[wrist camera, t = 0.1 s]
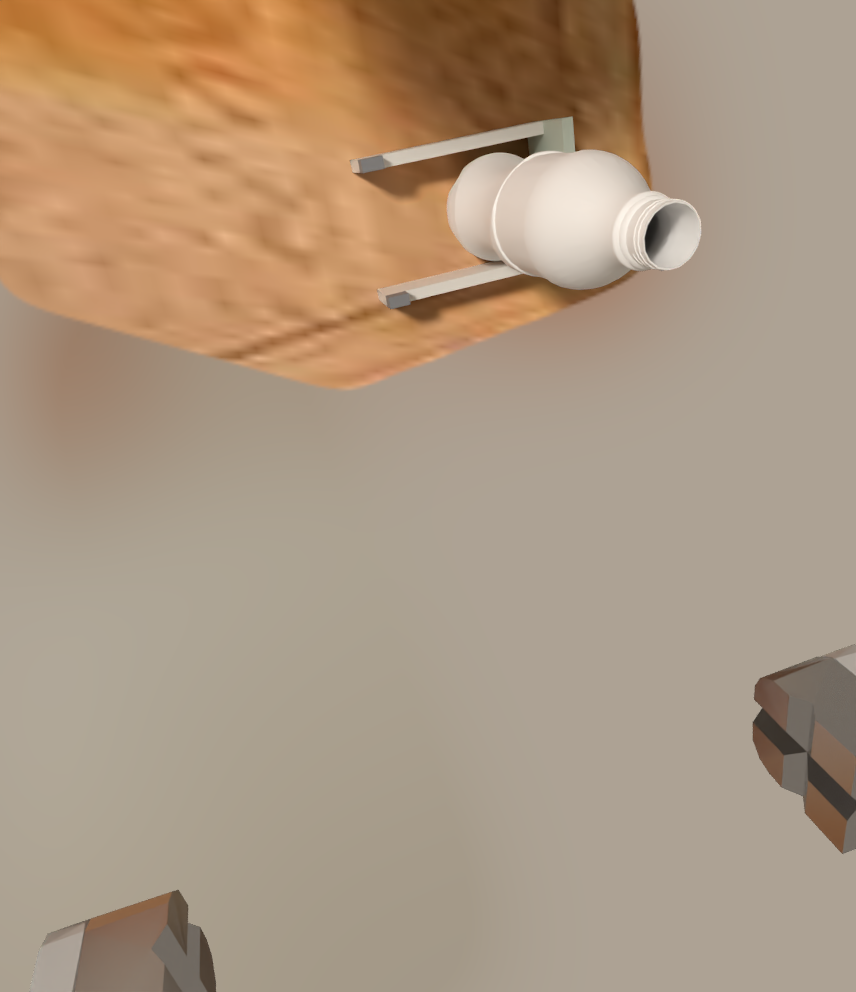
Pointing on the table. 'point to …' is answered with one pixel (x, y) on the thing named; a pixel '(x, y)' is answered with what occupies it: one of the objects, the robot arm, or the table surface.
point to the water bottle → (569, 217)
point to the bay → (539, 136)
